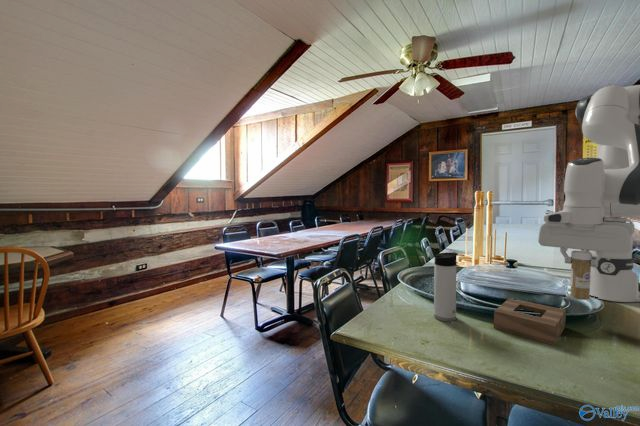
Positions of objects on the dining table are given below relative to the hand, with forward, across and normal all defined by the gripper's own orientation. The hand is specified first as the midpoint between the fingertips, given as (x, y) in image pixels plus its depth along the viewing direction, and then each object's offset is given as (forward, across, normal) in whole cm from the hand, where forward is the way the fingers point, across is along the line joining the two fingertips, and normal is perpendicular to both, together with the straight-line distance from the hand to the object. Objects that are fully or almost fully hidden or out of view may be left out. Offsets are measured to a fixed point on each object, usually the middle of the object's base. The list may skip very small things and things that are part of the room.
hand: (580, 264), depth 91 cm
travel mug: (+16, +29, +23) cm, 40 cm away
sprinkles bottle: (+10, 0, 0) cm, 10 cm away
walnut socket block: (+16, +9, +14) cm, 23 cm away
